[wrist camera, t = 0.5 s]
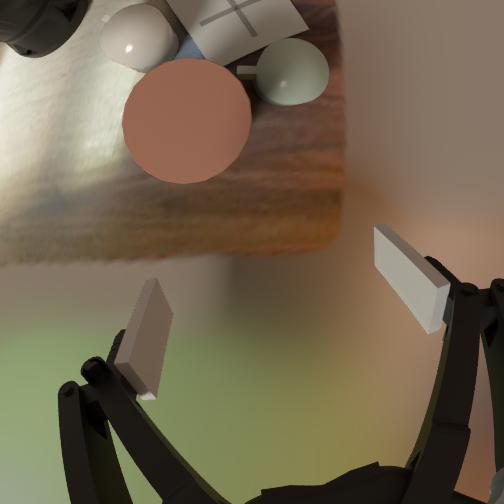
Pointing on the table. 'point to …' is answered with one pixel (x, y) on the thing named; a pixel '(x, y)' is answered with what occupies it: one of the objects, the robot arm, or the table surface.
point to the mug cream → (139, 38)
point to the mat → (237, 25)
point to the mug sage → (288, 73)
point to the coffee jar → (187, 120)
